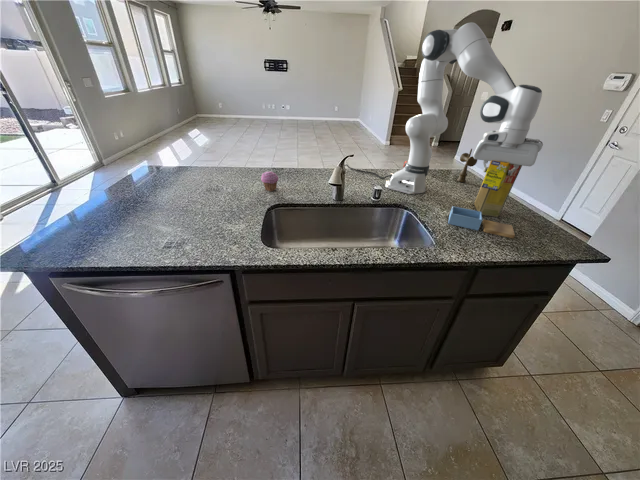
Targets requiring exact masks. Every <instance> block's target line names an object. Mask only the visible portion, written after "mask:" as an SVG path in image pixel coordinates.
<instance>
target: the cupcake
mask: <svg viewBox="0 0 640 480" xmlns="http://www.w3.org/2000/svg"><path fill="white" fill-rule="evenodd" d="M278 181H279V176H278V175H277V173H276V172H274V171H264V172H263V173H262V174H261V182H262V184H263V187H264V189H265V191H267V192H274V191H275V190H276V189H277V184H278Z"/></svg>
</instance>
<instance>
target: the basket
mask: <svg viewBox="0 0 640 480" xmlns="http://www.w3.org/2000/svg"><path fill="white" fill-rule="evenodd" d="M482 223H483V215H482V212H480V211H477V210H476V209H475V210H474V209H470V208H464V207H459V206H454V205H452V206H451V209H450V211H449V215H448V222H447V225H451V226H456V227H461V228H466V229H469V230H474V231H479V230H480V227H481V226H482V225H481V224H482Z"/></svg>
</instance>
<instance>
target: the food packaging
mask: <svg viewBox="0 0 640 480" xmlns="http://www.w3.org/2000/svg"><path fill="white" fill-rule="evenodd" d="M490 163H491V161H489V164H488V167H489V166H490ZM522 167H523V165H519V167H518V169H516V170H515V171H514V172H513V173H512V175H511V176H507V175H506V177H505V179H504V182H503V184H502V186H501V188H500V189H499V190H498V191H495V190H492V189H488V188H483V187H482V184H483V181H484V179H485V176H486V173H485V175H484V176H483V180H482V183H481V185H480V188H479V190H478V193H477V195H476V197H475V201H474V202H473V206H474V208H475V211H480V212H482V216H486V217H487V216H488V217H494V218H499V217H500V215H501V213H502V210H503V208H504V206H505V204H506V201H507V199H508V197H509V195H510V193H511V191H512V189H513V186H514V184H515V182H516V180H517V178H518V176H519V174H520V171H521V169H522ZM513 168H514V164H511V165H510V168H509V170H511V169H513Z"/></svg>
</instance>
